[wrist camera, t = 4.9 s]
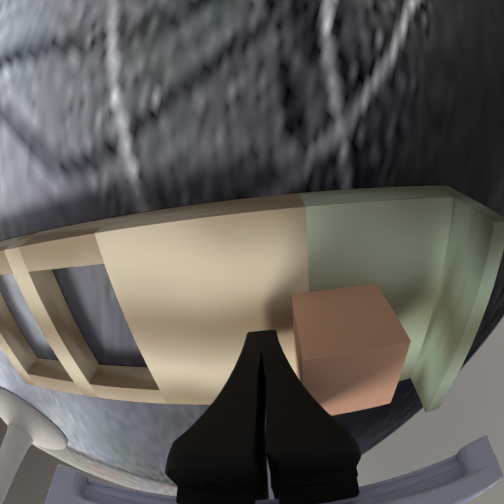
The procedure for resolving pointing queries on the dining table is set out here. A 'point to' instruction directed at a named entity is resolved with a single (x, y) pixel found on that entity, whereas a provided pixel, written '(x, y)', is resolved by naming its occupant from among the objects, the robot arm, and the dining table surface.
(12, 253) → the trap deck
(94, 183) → the dining table surface
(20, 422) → the candlestick
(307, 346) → the terracotta block
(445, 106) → the dining table surface
